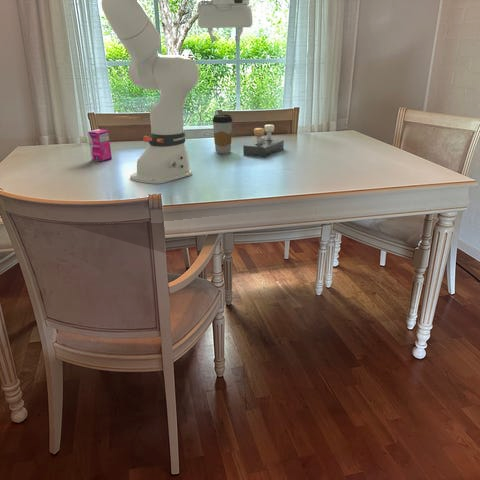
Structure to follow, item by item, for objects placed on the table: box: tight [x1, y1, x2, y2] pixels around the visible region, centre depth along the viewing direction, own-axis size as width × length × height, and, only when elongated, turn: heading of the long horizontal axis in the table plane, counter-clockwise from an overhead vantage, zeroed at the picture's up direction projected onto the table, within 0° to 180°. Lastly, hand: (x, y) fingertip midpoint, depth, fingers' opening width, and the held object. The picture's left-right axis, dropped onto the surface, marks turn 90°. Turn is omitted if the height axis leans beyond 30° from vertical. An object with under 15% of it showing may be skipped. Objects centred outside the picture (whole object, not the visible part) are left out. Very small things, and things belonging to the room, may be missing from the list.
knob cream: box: [264, 124, 275, 142], centre depth 190 cm, size 4×4×7 cm
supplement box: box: [87, 128, 113, 163], centre depth 176 cm, size 6×6×12 cm
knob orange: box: [253, 127, 265, 146], centre depth 183 cm, size 4×4×7 cm
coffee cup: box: [211, 113, 234, 155], centre depth 186 cm, size 8×8×15 cm
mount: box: [242, 137, 285, 159], centre depth 188 cm, size 17×10×4 cm, turn 149°
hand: (225, 41), depth 168 cm, fingers open, 8 cm apart
